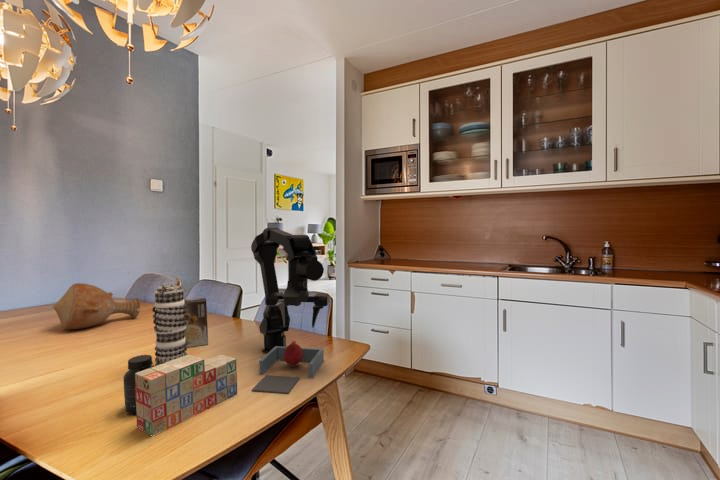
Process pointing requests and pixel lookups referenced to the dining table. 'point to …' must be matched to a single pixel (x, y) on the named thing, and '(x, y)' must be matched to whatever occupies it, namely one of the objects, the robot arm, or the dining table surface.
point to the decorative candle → (169, 323)
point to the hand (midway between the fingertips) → (298, 326)
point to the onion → (293, 354)
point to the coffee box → (196, 322)
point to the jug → (90, 306)
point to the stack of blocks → (182, 390)
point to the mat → (276, 384)
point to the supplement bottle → (134, 366)
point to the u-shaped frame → (309, 355)
